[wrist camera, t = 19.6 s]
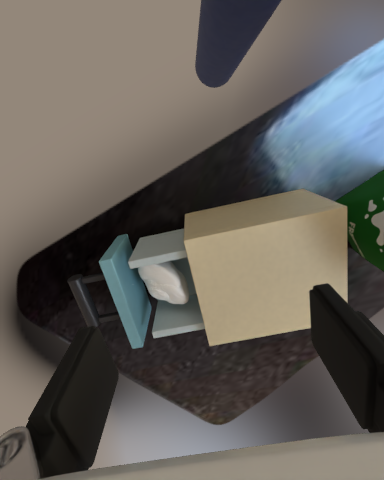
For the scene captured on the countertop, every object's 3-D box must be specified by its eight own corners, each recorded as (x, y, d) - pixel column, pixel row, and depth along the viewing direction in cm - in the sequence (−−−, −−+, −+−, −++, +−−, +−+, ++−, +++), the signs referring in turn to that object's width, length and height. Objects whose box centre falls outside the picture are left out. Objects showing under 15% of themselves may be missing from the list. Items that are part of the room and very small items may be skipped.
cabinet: (204, 297, 34) (209, 346, 26) (184, 213, 30) (183, 240, 22) (308, 277, 33) (347, 321, 25) (303, 188, 29) (347, 206, 21)
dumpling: (197, 276, 30) (195, 309, 28) (156, 279, 32) (151, 311, 29) (177, 244, 25) (173, 282, 23) (129, 249, 26) (121, 285, 24)
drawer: (106, 316, 34) (87, 357, 27) (76, 244, 30) (46, 272, 24) (238, 291, 32) (250, 327, 26) (224, 212, 29) (234, 232, 22)
